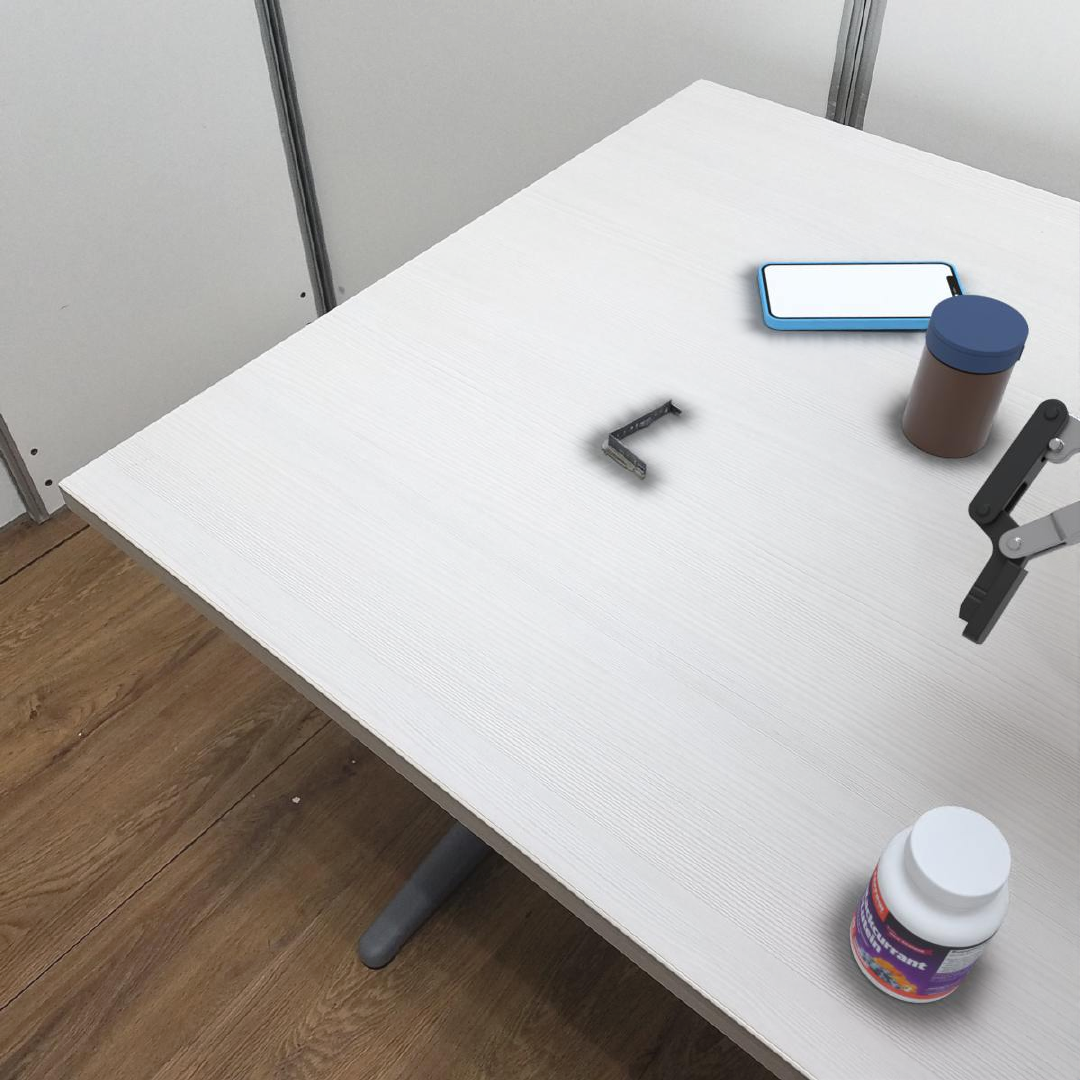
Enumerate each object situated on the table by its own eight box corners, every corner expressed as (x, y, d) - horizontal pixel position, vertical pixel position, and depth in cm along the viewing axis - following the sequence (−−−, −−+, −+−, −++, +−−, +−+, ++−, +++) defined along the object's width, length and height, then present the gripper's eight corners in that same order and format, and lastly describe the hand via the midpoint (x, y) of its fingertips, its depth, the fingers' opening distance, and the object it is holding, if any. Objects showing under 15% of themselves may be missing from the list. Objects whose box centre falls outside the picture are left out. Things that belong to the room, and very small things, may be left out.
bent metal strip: (675, 468, 73) (597, 458, 74) (672, 483, 74) (596, 474, 75) (683, 396, 78) (611, 388, 79) (681, 412, 79) (609, 403, 80)
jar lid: (1035, 338, 73) (1044, 316, 71) (1001, 386, 70) (1009, 364, 68) (947, 305, 75) (953, 283, 74) (909, 350, 72) (916, 328, 71)
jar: (999, 423, 78) (1037, 322, 72) (967, 469, 75) (1004, 368, 69) (922, 392, 80) (952, 291, 74) (887, 435, 77) (916, 334, 71)
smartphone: (757, 262, 90) (952, 261, 89) (756, 275, 91) (949, 273, 90) (767, 320, 85) (974, 319, 84) (765, 333, 85) (970, 332, 85)
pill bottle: (824, 924, 54) (865, 822, 47) (914, 875, 56) (967, 769, 49) (898, 1028, 51) (954, 936, 44) (991, 972, 53) (1060, 875, 45)
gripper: (1114, 245, 44) (894, 602, 47) (1531, 407, 38) (1247, 811, 41) (1121, 298, 51) (928, 609, 54) (1478, 444, 44) (1237, 790, 47)
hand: (1066, 696), depth 47 cm, fingers open, 8 cm apart
